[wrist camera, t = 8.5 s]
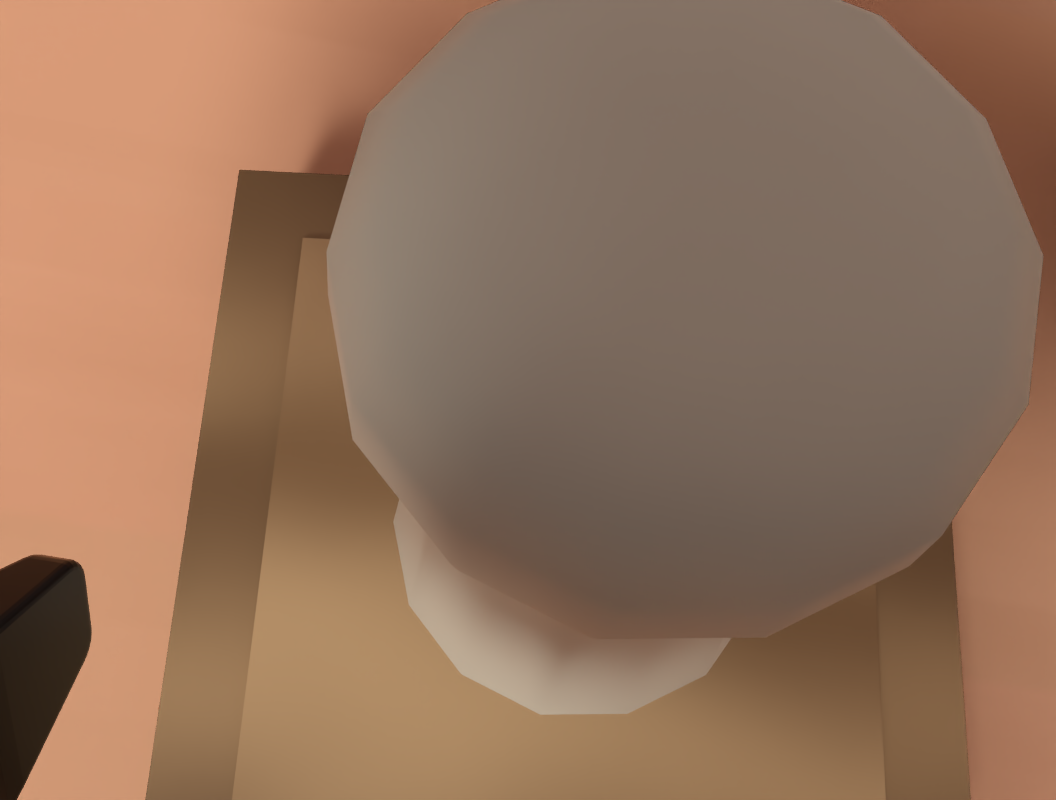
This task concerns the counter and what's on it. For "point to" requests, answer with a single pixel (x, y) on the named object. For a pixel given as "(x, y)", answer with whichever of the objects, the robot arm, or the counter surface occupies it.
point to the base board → (417, 659)
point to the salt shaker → (671, 328)
